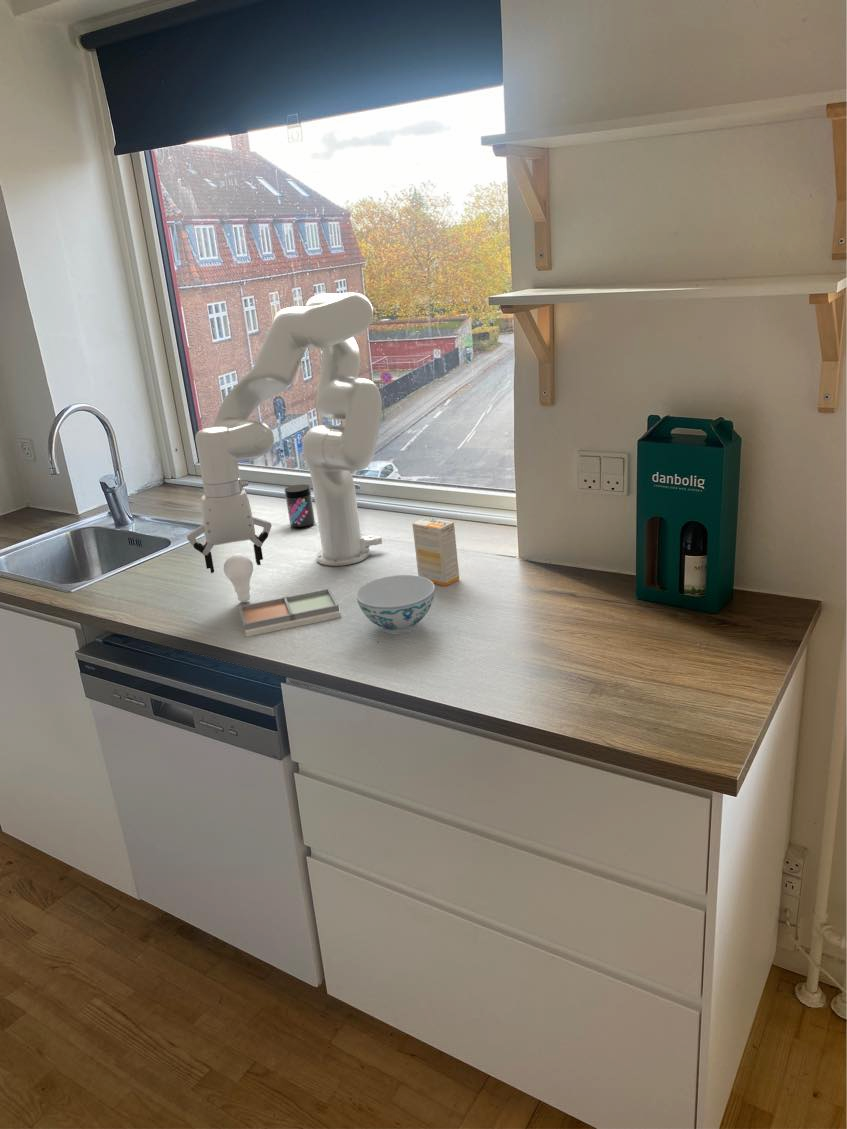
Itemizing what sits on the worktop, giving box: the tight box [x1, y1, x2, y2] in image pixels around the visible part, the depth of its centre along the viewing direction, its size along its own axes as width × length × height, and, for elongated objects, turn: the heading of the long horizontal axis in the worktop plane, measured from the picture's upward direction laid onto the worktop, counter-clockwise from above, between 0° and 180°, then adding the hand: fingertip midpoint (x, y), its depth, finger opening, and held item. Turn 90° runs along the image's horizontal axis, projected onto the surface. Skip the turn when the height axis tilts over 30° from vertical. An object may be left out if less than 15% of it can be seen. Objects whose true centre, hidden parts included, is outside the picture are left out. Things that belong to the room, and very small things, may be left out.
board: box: [238, 587, 342, 637], centre depth 177 cm, size 19×12×2 cm, turn 106°
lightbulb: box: [223, 553, 254, 603], centre depth 184 cm, size 6×6×11 cm
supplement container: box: [284, 484, 316, 530], centre depth 231 cm, size 7×7×10 cm
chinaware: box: [355, 574, 436, 635], centre depth 166 cm, size 15×15×8 cm
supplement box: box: [412, 516, 460, 587], centre depth 185 cm, size 8×5×13 cm, turn 47°
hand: (235, 567), depth 183 cm, fingers open, 9 cm apart
